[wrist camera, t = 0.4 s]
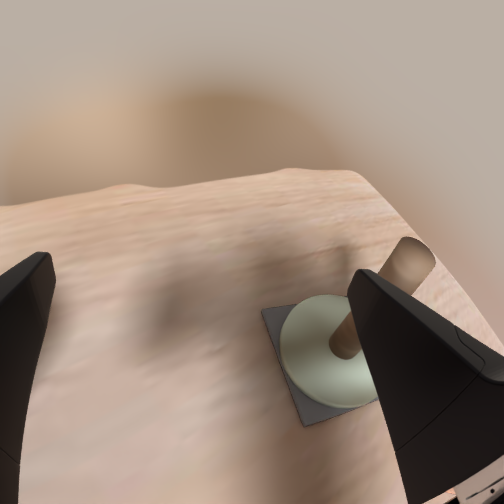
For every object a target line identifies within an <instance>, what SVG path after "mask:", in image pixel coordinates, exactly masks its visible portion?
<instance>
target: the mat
mask: <svg viewBox="0 0 504 504" xmlns="http://www.w3.org/2000/svg"><path fill="white" fill-rule="evenodd" d="M344 297H347V296H344ZM347 298H348V297H347ZM296 305H298V304H295V305H288V306H281V307H274V308H267V309H262V311H261V313H262V315H263V318H264V321H265V324H266V326H267V329H268V332H269V334H270V337H271V340H272V343H273V345H274V348H275V351H276V354H277V356H278V359H279V362H280V364H281V367H282V370H283V373H284V375H285V378H286V381H287V383H288V386H289V389H290V391H291V394H292V397H293V400H294V402H295V405H296V408H297V410H298V413H299V416H300V418H301V421H302V424H303V426H304V427H306V426H309V425H312V424H315V423H318V422H321V421H324V420H327V419H329V418H332V417H335V416H338V415H341V414H343V413H346V412H349V411H351V410H354V409H356V408H359V407H361V406H359V407H356V408H349V409H340V408H332V407H329V406H325V405H323V404H320V403H318V402H316V401H314V400H312V399H311V398H309V397H308V396H306V395H305V394H304V393H302V392H301V391H300V390H299V389H298V388H297V387H296V386H295V384H294V383H293V382H292V381H291V379H290V378H289V376H288V374H287V373H286V371H285V369H284V366H283V364H282V361H281V357H280V352H279V338H280V332H281V329H282V326H283V324H284V322H285V320H286V319H287V317H288V315H289V314H290V312H291V311H292V309H293V308H294V307H295V306H296ZM378 399H379V398H378V397H376V398H375V399H373V400H372V401H370V402H369V403H371V402H374V401H376V400H378ZM369 403H367V404H369ZM365 405H366V404H365ZM362 406H364V405H362Z"/></svg>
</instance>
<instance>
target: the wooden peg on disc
mask: <svg viewBox="0 0 504 504" xmlns="http://www.w3.org/2000/svg"><path fill="white" fill-rule="evenodd" d="M435 264H436V261H435V257H434V255H433V253H432V252H431V251H430V249H429V248H428V247H427V246H426V245H425V244H423V243H422V242H421V241H419V240H417V239H415V238H412V237H403V238H401V240H400V241H399V243H398V244H397V246H396V247H395V249H394V250H393V252H392V253H391V255H390V256H389V258H388V259H387V261H386V262H385V264H384V265H383V266H382V268H381V269H380V271H379V272H378V275H379V276H381V277H382V278H384V279H386V280H387V281H389V282H390V283H392V284H393V285H395V286H397V287H398V288H400V289H401V290H403V291H404V292H406V293H407V294H409V295H412V294H413V293H414V292H415V290H416V289H417V288H418V287H419V286H420V284H421V283H422V282H423V281H424V279H425V278H426V277H427V276H428V275H429V273H430V272H431V271H432V269H433V268H434V267H435ZM279 352H280V357H281V361H282V364H283V366H284V369H285V371H286V373H287V374H288V376H289V378H290V379H291V381H292V382H293V383H294V384H295V386H296V387H297V388H298V389H299V390H300V391H301V392H302V393H304V394H305V395H306V396H308V397H309V398H311V399H312V400H314V401H316V402H318V403H320V404H323V405H325V406H329V407H332V408H340V409H349V408H356V407H359V406H362V405H365V404H367V403H369V402H370V401H372V400H373V399H375V398H376V397H378V395H377V392H376V389H375V386H374V383H373V380H372V377H371V374H370V371H369V368H368V365H367V362H366V359H365V356H364V354H363V351H362V348H361V345H360V342H359V339H358V336H357V332H356V328H355V324H354V320H353V316H352V313H351V309H350V305H349V301H348V298H347V297H343V296H339V295H328V294H325V295H317V296H313V297H310V298H307V299H305V300H304V301H302V302H300V303H299V304H298V305H296V306H295V307H294V308H293V309H292V311H291V312H290V314H289V315H288V317H287V319H286V320H285V322H284V324H283V326H282V329H281V332H280V338H279Z"/></svg>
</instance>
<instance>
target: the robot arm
mask: <svg viewBox="0 0 504 504" xmlns="http://www.w3.org/2000/svg"><path fill="white" fill-rule="evenodd" d="M55 284H56V276H55V271H54V267H53V262H52V257H51V255H50V253H48V252H35V253H34V254H32V255H31V256H29V257H28V258H26V259H25V260H23V261H21V262H20V263H18V264H17V265H15V266H14V267H12V268H11V269H9V270H8V271H6V272H5V273H3V274H2V275H1V276H0V504H18V492H19V474H20V460H21V450H22V442H23V434H24V427H25V421H26V415H27V409H28V403H29V398H30V393H31V388H32V384H33V379H34V375H35V370H36V366H37V362H38V358H39V354H40V350H41V347H42V343H43V339H44V336H45V332H46V328H47V323H48V317H49V312H50V307H51V302H52V298H53V293H54V289H55ZM347 297H348V301H349V305H350V309H351V313H352V316H353V320H354V324H355V328H356V332H357V336H358V339H359V342H360V345H361V348H362V351H363V354H364V356H365V359H366V362H367V365H368V368H369V371H370V374H371V377H372V380H373V383H374V386H375V389H376V392H377V395H378V398H379V401H380V404H381V408H382V411H383V414H384V417H385V421H386V424H387V427H388V430H389V434H390V437H391V441H392V444H393V448H394V451H395V455H396V459H397V462H398V466H399V470H400V474H401V477H402V481H403V485H404V489H405V493H406V497H407V501H408V504H423V503H425V502H427V501H429V500H431V499H433V498H435V497H437V496H438V495H440V494H442V493H444V492H446V491H448V490H450V489H451V488H453V489H454V491H455V494H456V496H455V497H454V498H452V499H451V500H449V501H447V502H446V503H444V504H504V356H502V355H500V354H499V353H497V352H496V351H494V350H492V349H491V348H489V347H488V346H486V345H484V344H483V343H481V342H480V341H478V340H477V339H475V338H473V337H472V336H470V335H469V334H467V333H466V332H464V331H463V330H462V329H460V328H459V327H457V326H456V325H453V323H451V322H450V321H448V320H447V319H445V318H444V317H442V316H441V315H439V314H438V313H436V312H435V311H433V310H432V309H430V308H429V307H427V306H426V305H424V304H423V303H421V302H420V301H418V300H417V299H415V298H414V297H412V296H411V295H409V294H407V293H406V292H404V291H403V290H401V289H400V288H398V287H397V286H395V285H393V284H392V283H390V282H389V281H387V280H386V279H384V278H382V277H381V276H379V275H378V274H376V273H375V272H373V271H371V270H369V269H358V270H357V271H356V272H355V274H354V276H353V279H352V281H351V283H350V285H349V288H348V291H347Z"/></svg>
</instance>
